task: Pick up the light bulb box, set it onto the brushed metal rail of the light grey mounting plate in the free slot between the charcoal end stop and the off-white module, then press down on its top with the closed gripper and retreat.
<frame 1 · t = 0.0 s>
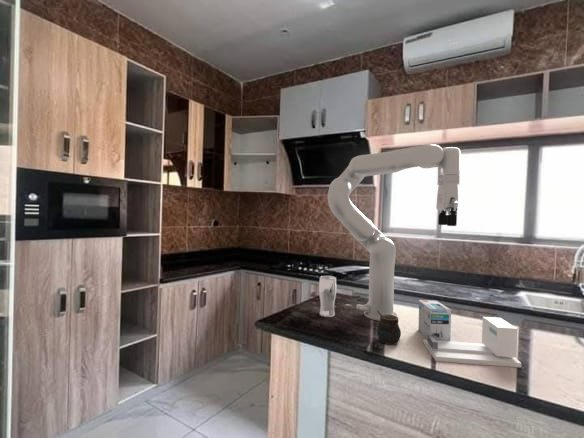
hand: (446, 225, 121), 37 cm above the worktop, tool pointing down, fingers open, 9 cm apart
mounted module: (498, 349, 91), resting on mounting plate
mate gourd: (388, 342, 101), on the worktop
mounting plate: (468, 354, 93), on the worktop
beer glass: (327, 315, 126), on the worktop
light bulb box: (433, 336, 106), on the worktop
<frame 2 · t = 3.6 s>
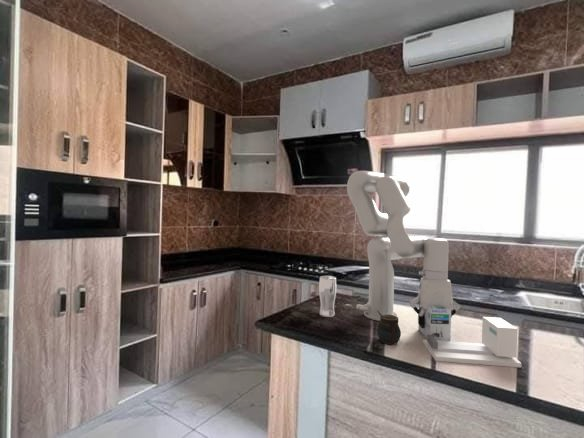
hand: (433, 327, 106), 3 cm above the worktop, tool pointing down, fingers closed on light bulb box, 7 cm apart
light bulb box: (433, 336, 106), on the worktop, touching gripper
everything else where it was.
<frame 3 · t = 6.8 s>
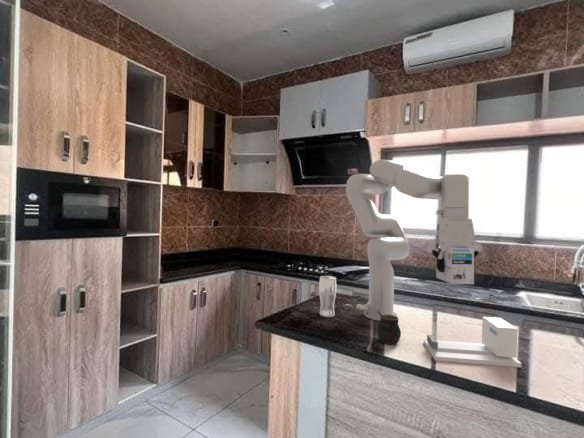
hand: (454, 271, 97), 23 cm above the worktop, tool pointing down, fingers closed on light bulb box, 7 cm apart
light bulb box: (453, 281, 97), point 20 cm above the worktop, touching gripper
everything else where it was.
when the fingers open (6 cm above the worktop, at t = 10.0 s): light bulb box stays where it is, resting on mounting plate.
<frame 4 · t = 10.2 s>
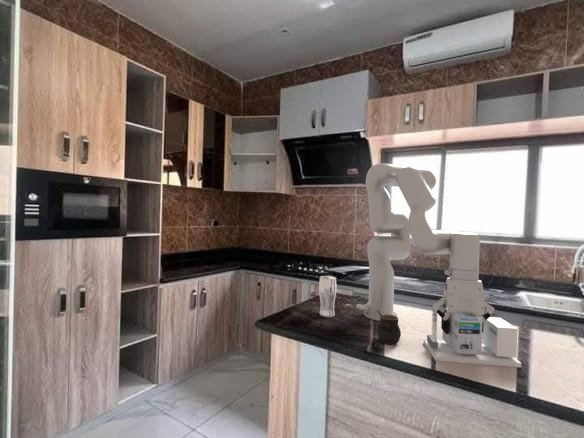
hand: (461, 333, 93), 6 cm above the worktop, tool pointing down, fingers open, 8 cm apart
light bulb box: (460, 347, 93), point 2 cm above the worktop, touching mounting plate
everything else where it was.
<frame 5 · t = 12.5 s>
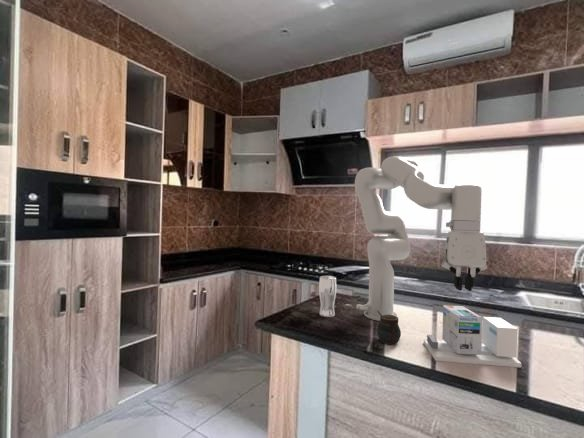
hand: (463, 289, 92), 19 cm above the worktop, tool pointing down, fingers closed
nothing on the worktop moved.
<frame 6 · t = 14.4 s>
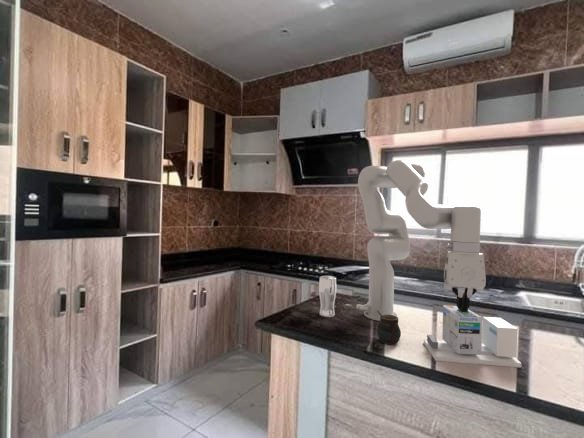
hand: (462, 310, 92), 13 cm above the worktop, tool pointing down, fingers closed
nothing on the worktop moved.
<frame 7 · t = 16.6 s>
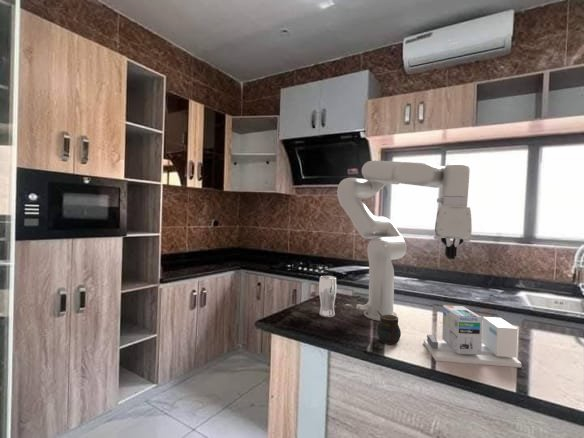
hand: (450, 258, 103), 27 cm above the worktop, tool pointing down, fingers closed
nothing on the worktop moved.
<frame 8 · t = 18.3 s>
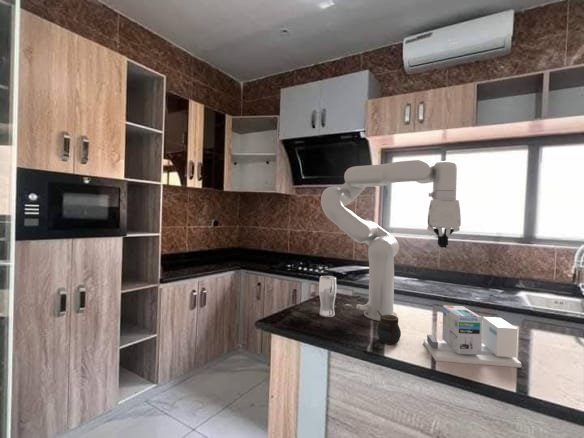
hand: (442, 247, 114), 29 cm above the worktop, tool pointing down, fingers closed
nothing on the worktop moved.
at the end: light bulb box 0.3 cm from the target spot, point 1.8 cm above the worktop; light bulb box tilted 0°; the gripper is holding nothing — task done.
